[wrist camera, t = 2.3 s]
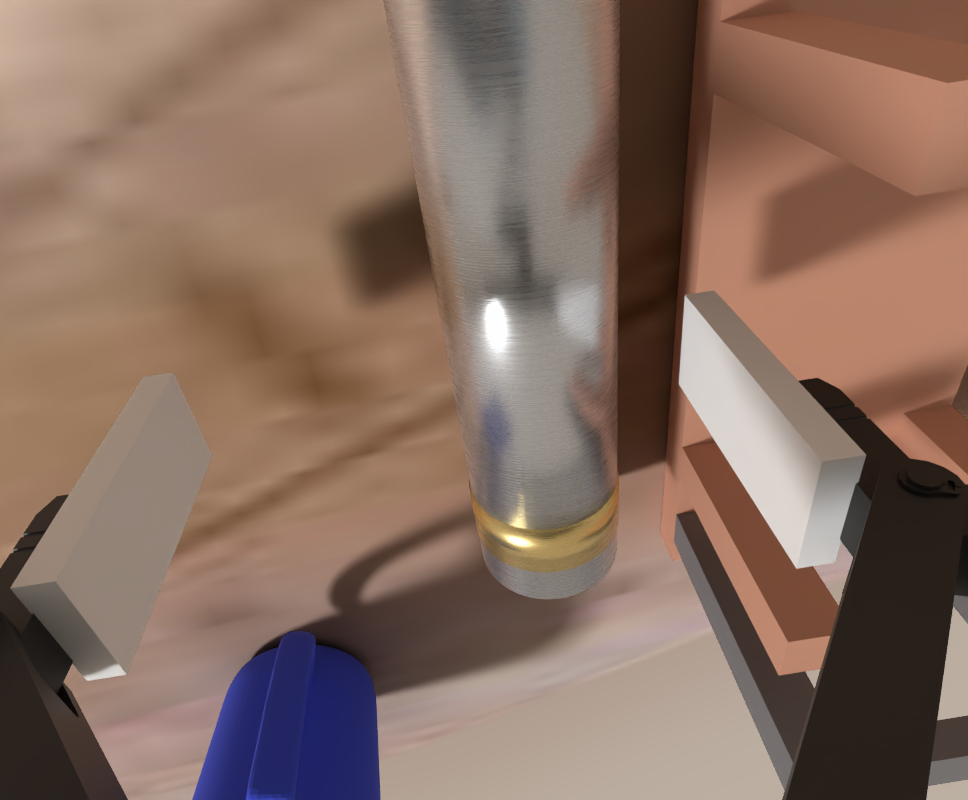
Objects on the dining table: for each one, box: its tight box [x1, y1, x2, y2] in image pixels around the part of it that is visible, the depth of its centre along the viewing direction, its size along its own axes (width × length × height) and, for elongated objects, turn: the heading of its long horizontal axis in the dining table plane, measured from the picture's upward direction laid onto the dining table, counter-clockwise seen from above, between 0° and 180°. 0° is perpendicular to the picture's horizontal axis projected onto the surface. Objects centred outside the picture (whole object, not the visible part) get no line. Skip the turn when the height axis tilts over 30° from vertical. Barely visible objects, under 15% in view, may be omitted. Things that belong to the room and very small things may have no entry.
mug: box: [192, 631, 380, 800], centre depth 27 cm, size 8×12×10 cm
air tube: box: [383, 0, 620, 599], centre depth 18 cm, size 20×5×5 cm
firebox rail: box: [661, 0, 968, 790], centre depth 16 cm, size 25×10×12 cm, turn 7°
